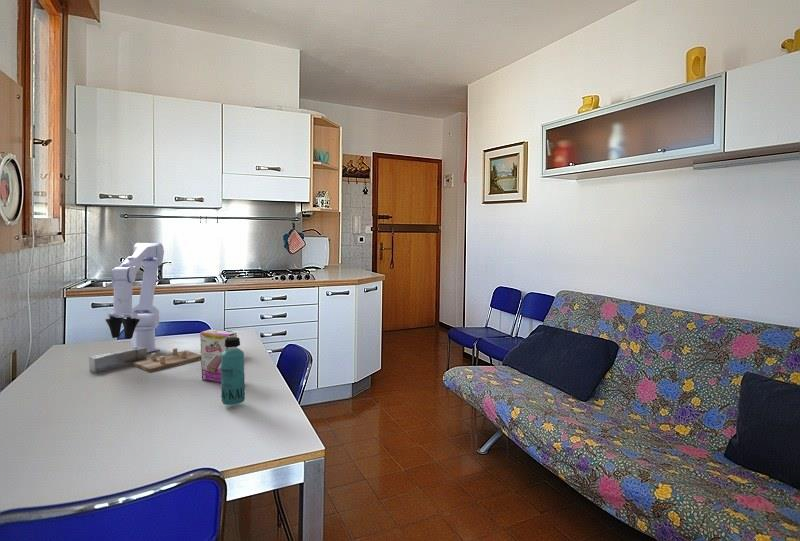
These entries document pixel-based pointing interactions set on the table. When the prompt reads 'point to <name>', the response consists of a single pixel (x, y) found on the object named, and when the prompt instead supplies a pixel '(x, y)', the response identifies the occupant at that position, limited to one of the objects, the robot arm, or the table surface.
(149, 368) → the peg rack
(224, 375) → the beverage bottle
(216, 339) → the candy bar box
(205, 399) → the table surface
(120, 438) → the table surface
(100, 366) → the gray notched long block
